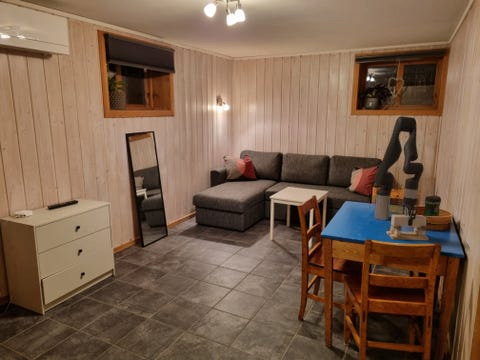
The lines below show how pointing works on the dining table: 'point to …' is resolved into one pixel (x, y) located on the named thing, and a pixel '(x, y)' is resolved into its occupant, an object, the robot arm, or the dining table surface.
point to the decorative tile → (396, 210)
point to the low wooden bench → (407, 233)
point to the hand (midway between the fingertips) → (408, 224)
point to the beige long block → (403, 221)
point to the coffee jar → (432, 206)
